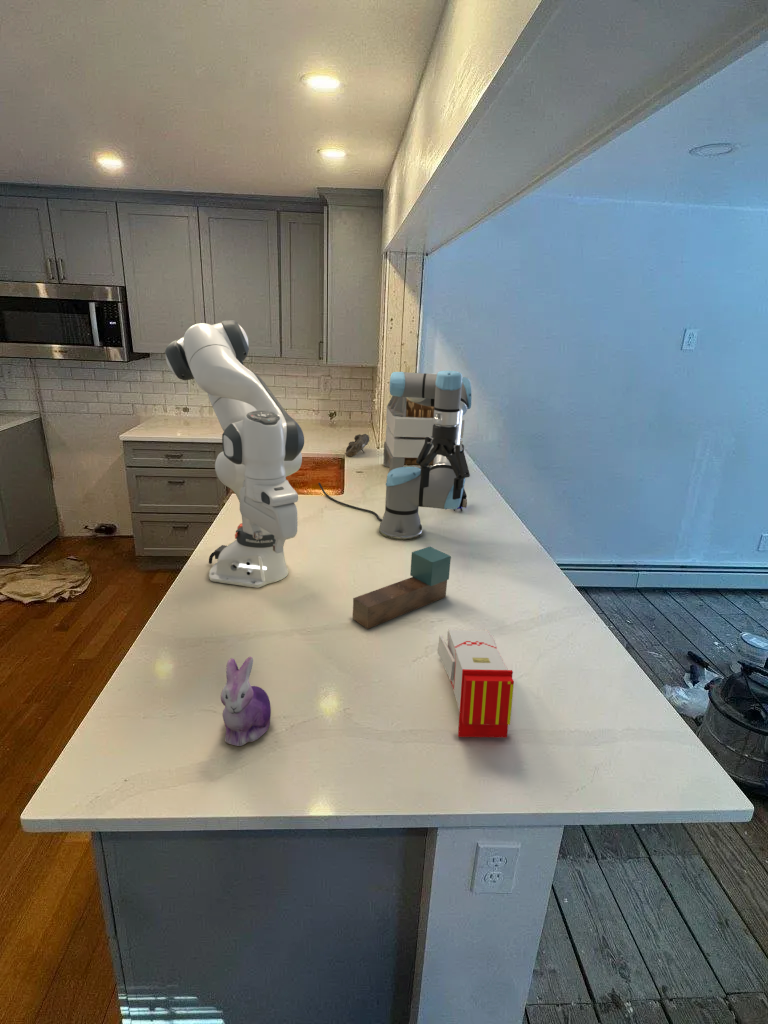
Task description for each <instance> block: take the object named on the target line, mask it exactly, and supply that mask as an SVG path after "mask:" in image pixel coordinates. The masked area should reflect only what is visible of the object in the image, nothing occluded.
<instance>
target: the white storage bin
mask: <svg viewBox="0 0 768 1024" xmlns="http://www.w3.org/2000/svg"><path fill="white" fill-rule="evenodd" d="M385 414H386V415H385V423H386V428H385V438H384V442H383V466H384V467H388V468H389V472H390V471H391V470H393V469H396V468H400V467H405V466H406V467H417V466H418V467H421V466H420V464H417V463H416V460H417V458H418V456H419V454H420V452H421V450H422V448H423V446H424V444H425V438H426V437H430V436H432V430H433V425H434V424H435V423H434V422H433V418H434V407H431V406H424V405H420V404H417V403H414V402H411V401H409V400H408V399H407V398H406V397H398V396H392V395H391V398H390V400H389V402H388V404H387V405H386V413H385ZM464 429H465V419H464V418H462V424H461V435H460V445H461V444H463V442H464V441H463V440H462V439H463V438H464V431H465V430H464ZM433 438H434V437H433ZM433 447H434V446H433V444H432V447H431V449H432V448H433ZM431 449H430V451H431ZM430 451H429V453H430ZM429 453H428V454H429ZM433 463H434V459H433V460H432V461H431V462H430V464H429V466H428V467H431V466H433Z"/></svg>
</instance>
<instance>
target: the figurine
mask: <svg viewBox="0 0 768 1024" xmlns="http://www.w3.org/2000/svg"><path fill="white" fill-rule="evenodd" d="M253 666H254V657H252V656H249V657H247V658H246V659H245V660H244V661H243V663H242V664H241V666H240V667H238V664H237V662H236V660H235V658H233V657H231V658H229V659H228V660H227V662H226V669H225V674H226V682H225V685H224V686H223V688H222V690H221V694H220V701H221V704H222V705H223V706H224V708H223V710H222V721H223V724H224V727H225V735H224V741H225V743H227V744H229V745H233V746H236V747H237V746H238V747H242V746H244V745H246V744H247V743H252V742H255V741H257V740H258V739H260V738H261V737H262V736H263V735H265V734H266V732H268V730H269V728H270V725H271V716H272V707H271V701H270V698H269V695H268V693H267V692H266V691H265V690H264V689H263V688H262V687H260V686H257V685H251V683H250V676H251V673H252V670H253Z"/></svg>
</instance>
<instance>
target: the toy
mask: <svg viewBox="0 0 768 1024" xmlns="http://www.w3.org/2000/svg"><path fill="white" fill-rule="evenodd" d="M446 640H447V643H446V641H445V639H444V636H443V635H442V634H439V637H438V646H437V656H438V657H439V659H440V661H441V663H442V666H443V668H444V670H445V672H446V674H447V677H448V679H449V681H450V684H451V687H452V690H453V693H454V697H455V701H456V705H457V708H458V711H459V714H458V715H459V716H458V730H457V731H458V732H457V737H458V738H508V731H509V726H510V725H511V717H512V707H513V697H514V696H513V695H514V684H515V680H514V679H513V673H514V671H513V670H512V669H508V667H507V665H506V662H505V661H504V659H503V658H502V655H501V653H500V651H499V649H498V647H497V643H496V639H495V637H494V635H493V634H491V632H490V631H489V629H467V628H466V629H465V628H463V629H461V628H460V629H459V628H448V630H447V639H446Z"/></svg>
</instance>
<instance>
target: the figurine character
mask: <svg viewBox="0 0 768 1024" xmlns="http://www.w3.org/2000/svg"><path fill="white" fill-rule="evenodd" d="M467 495H468V494H467V493H466V490H465V488H464V489H463V494H462V499H461V503H460V506H459V507H458V508H457V509H452V510H453V512H456V510H458V509H459V510H460V512H463V509H464V508H465V509H466V508H467V506H468V499H467V497H468V496H467Z"/></svg>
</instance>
